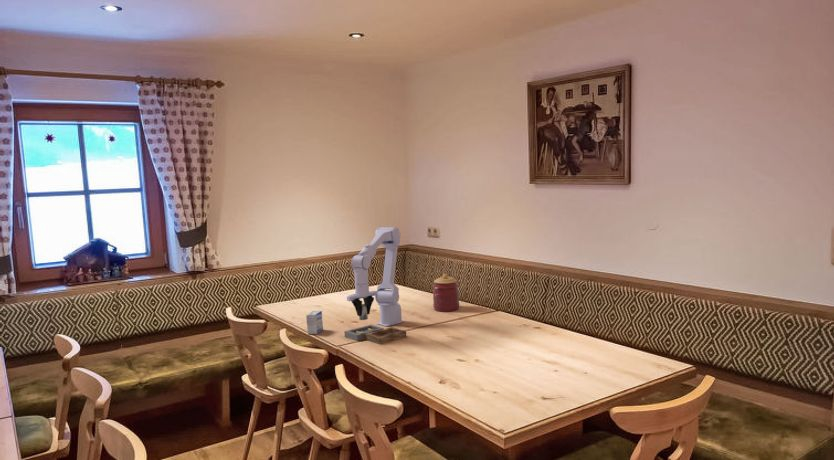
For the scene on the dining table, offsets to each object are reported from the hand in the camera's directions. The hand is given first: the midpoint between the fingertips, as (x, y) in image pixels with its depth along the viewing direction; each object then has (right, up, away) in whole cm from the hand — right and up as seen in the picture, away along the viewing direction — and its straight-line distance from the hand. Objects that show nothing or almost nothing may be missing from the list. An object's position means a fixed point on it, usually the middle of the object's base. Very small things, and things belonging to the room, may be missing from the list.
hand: (363, 314), depth 256 cm
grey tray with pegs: (0, -9, +1) cm, 9 cm away
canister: (+37, -3, +41) cm, 56 cm away
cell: (0, -2, 0) cm, 2 cm away
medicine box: (-22, -9, +10) cm, 26 cm away
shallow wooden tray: (+10, -9, -5) cm, 14 cm away
